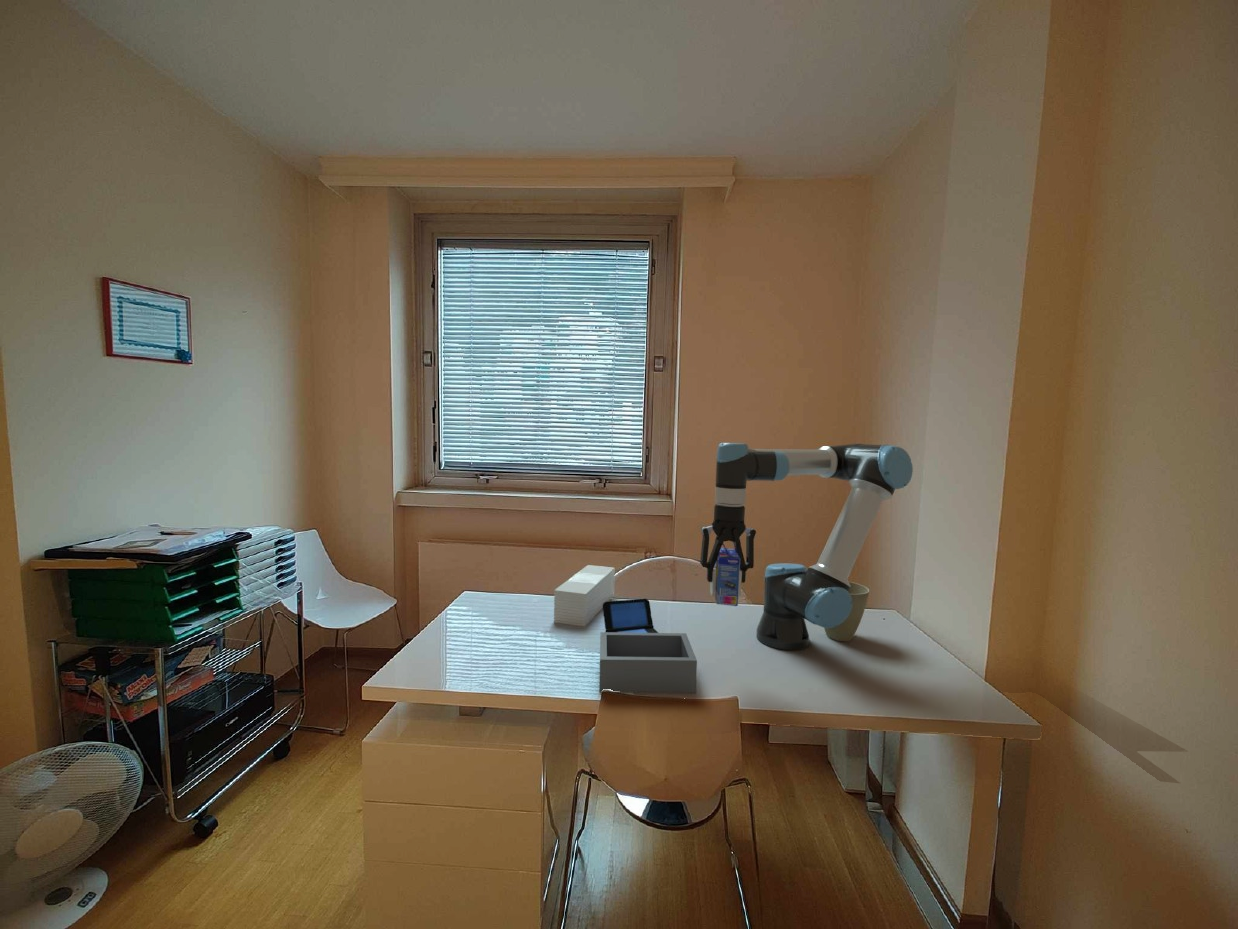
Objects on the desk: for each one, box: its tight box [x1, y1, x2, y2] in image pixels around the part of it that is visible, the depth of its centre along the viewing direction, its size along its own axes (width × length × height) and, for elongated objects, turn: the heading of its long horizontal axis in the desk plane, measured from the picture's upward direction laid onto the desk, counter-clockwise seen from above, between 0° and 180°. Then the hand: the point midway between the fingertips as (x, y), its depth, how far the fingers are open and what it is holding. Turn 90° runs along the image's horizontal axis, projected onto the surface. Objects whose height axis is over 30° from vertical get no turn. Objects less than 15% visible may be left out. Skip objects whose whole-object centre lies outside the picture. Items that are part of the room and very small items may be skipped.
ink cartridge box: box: [714, 542, 740, 607], centre depth 129 cm, size 10×6×14 cm, turn 174°
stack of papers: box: [553, 564, 616, 627], centre depth 177 cm, size 32×11×11 cm, turn 164°
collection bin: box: [598, 631, 698, 694], centre depth 129 cm, size 23×16×8 cm
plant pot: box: [823, 581, 870, 642], centre depth 157 cm, size 15×15×16 cm
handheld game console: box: [602, 598, 659, 633], centre depth 154 cm, size 16×13×9 cm
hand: (725, 594), depth 129 cm, fingers closed on ink cartridge box, 6 cm apart
